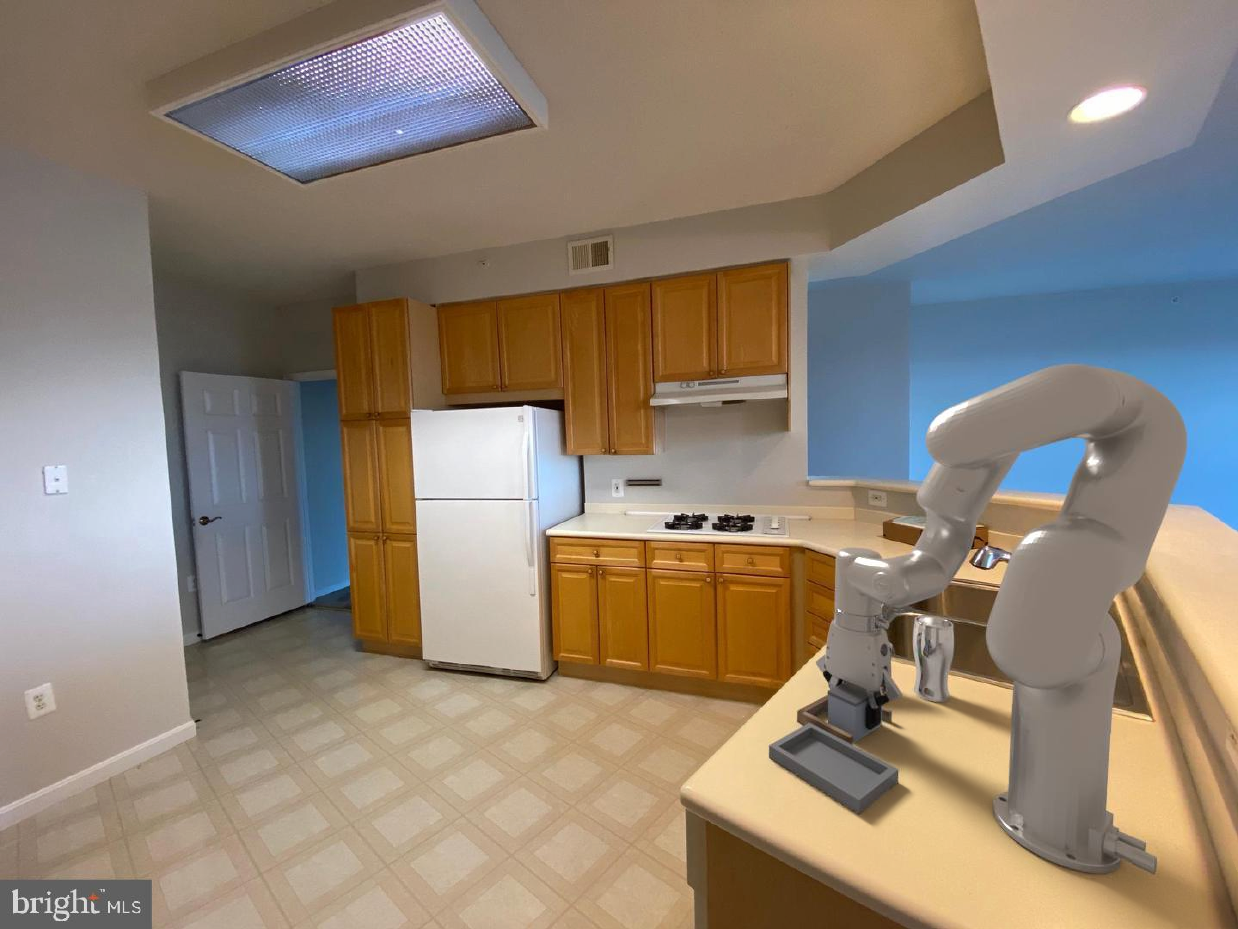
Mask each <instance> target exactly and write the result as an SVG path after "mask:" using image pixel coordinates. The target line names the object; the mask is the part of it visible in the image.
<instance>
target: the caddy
mask: <svg viewBox="0 0 1238 929" xmlns="http://www.w3.org/2000/svg"><path fill="white" fill-rule="evenodd" d="M880 687H881V686H880ZM881 690H882V693H883V691H884V688H883V687H881ZM883 694H884V693H883ZM826 695H828V710H827V723H829V724H831V725H833V726H835V727H837V728H839V729H841V730H843V731H845V732H847V733H849V734H851V735H853V744H855V743H858V741H860V740H862V739H863V738H864V737H866V736H867V735H869V734H871V733H872V732H873V731H875V730H876V729H878V728H879V727H881V726H882V724H883V720H882V707H883V705H881V722H880V724H879V725H877V726H876V727H874V728H873V729H871V730H869V729H867V727H866V707H867V706H868V705H870V703H869V700H868V697H867V693H866V690H865V689H864V688H861V687H859V686H856V685H854V684H852V683H849V682H847V681H846V682H844V683H842V684H840V685H838V686H836V687H834V688H832V689H830V688H829V689H828V690H827V694H826Z"/></svg>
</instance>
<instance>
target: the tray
mask: <svg viewBox="0 0 1238 929" xmlns="http://www.w3.org/2000/svg"><path fill="white" fill-rule="evenodd" d="M768 759H771V760H772V761H774V762H775V763H777V764H779V766H782V767H783V768H785V769H787V770H788V771H790V772H791V773H793V774H795V775H796V776H798V777H799V778H801V779H802V780H804V781H806V782H807V783H808V784H810V785H811V786H813V787H815V788H817V789H818V790H820V791H821V792H823V793H824V794H826V795H828V796H830V798H832V799H834V800H835V801H837V802H838V803H840V804H842V805H843V806H845V807H846V808H848V809H850V810H851V811H853V812H854V813H856V814H857V815H860V814H861V813H862V812H864V811H865V810H866V809H868V808H869V807H870V806H871V805H872V804H874V803H875V802H876V801H877V800H878V799H879V798H881V797H882V796H883V795H884V794H885V793H886V792H888V791H889V790H891V788H893V787H894V786H895V785H897V783H899V768H897V767H895V766H893V765H891V764H889V763H887V762H886V761H883V760H882V759H881V758H878V757H876V756H874V755H872V754H870V753H869V752H866V751H864V750H862V749H861V748H859V747H857V746H855V745H854V744H853V745H851V744H849V743H848V742H846V741H844V740H842V739H840V738H838V737H836V736H834V735H832V734H830V733H828V732H827V731H825V730H823V729H821V728H819V727H817V726H815V725H813V724H811V723H808V724H806V725H802V726H800V727H799V728H797V729H795V730H794V731H792V732H790V733H788V734H787V735H784V736H783V737H781V738H779V739H778V740H776V741H774V742H773V743H771V744H769V745H768Z"/></svg>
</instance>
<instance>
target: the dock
mask: <svg viewBox="0 0 1238 929" xmlns="http://www.w3.org/2000/svg"><path fill="white" fill-rule="evenodd" d="M823 711H824V712H826V711H828V694H826V695H825V696H822V697H821V698H819V699H817V700H815V701H813V702H811V703H809V704H807V705H806V706H804V707H802V708H800V709H798V710H796V722H797V723H799V724H801V725H802V726H804V725H806V724H808V723H811V724H813V725H815V726H817V727H819V728H821V729H823V730H825V731H827V732H828V733H830V734H832V735H834V736H836V737H838V738H840V739H842V740H844V741H846V742H848V743H849V744H851V745H853V746H854V742H853V735H851V734H849V733H847V732H845V731H843V730H841V729H839V728H837V727H835V726H833V725H831V724H829V723H828V721H825V720H823V719H821V718H819V717H817V716H819V715H821V714H822V713H824V712H823ZM821 712H822V713H821ZM820 713H821V714H820ZM818 714H819V715H818ZM892 715H893V711H892V710H891V709H889V708H886V707H885V706H882V722H885V723H888V724H890V723H892V719H893V718H892V717H893V716H892Z"/></svg>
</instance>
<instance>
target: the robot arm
mask: <svg viewBox="0 0 1238 929" xmlns="http://www.w3.org/2000/svg"><path fill="white" fill-rule="evenodd" d="M925 433H926V435H925V446H926V449H927V452H928V454H929V456H930V457H931V458H932V459H933V460H934V462H933V464H932V466H931V468H930V470H929V471H928V473H927V475H926V477H925V478H924V480H923V482H922V484H921V485H920V486H919V489H918V491H917V492H916V502H917V504H918V505H919V506H920V507H921V508H922V509H923V510H924V512H925V514H926V515H925V516H926V519H925V521H926V522H925V525H924V529H923V530H922V532H921V534H920V537H919V539H918V540H917V542H916V543H915V544H914V547H913V548H912V550H911V551H910V552H909V554H908V553H907V554H903V555H899V556H895V557H890V558H888V557H887V558H883V556H882V555H881V554H880V552H877V551H876V550H873V549H869V548H864V547H843V548H841V549H840V550H838V551H837V552H836V555H835V565H834V566H835V573H834V574H835V575H834V612H833V615H834V616H833V618H834V619H832V620H831V622H830V626H829V629H828V633H827V638H826V645H825V654H824V655H822V656H821V657H820V658H819V659H817V660H816V661H815V665H816V666H817V668H818V669H819V670H820V671H821V673H822V676H823V677H824V679H825V681H826V682H827V686H828V689H829V690H830V689H832V688H834V687H836V686H838V685H840V684H842V683H843V682H844V680H845V681H847V682H849V683H852V684H854V685H856V686H859V687H861V688H864V689H865V690H866V693H867V697H868V700H869V703H870V705H868V706H867V707H866V727H867V729H869V730H871V729H873V728H874V727H876V726H877V725H879V724H880V722H881V705H882V706H884V705H885V704H887V703H889V702H891V701H894V700H896V699H899V698H900V697H901V696H902V695H903V693H902V691H901V690H900V688H899V686H898V685H897V684H896V681H894V679H893V677H892V657H890V648H889V642H890V641H889V638H888V637H889V636H888V633H887V631H886V630H888V629H889V628H890V622H889V621H888V620H885V619H884V616H883V615H884V614H883V606H887V607H890V608H903V607H907V606H910V605H912V604H916V603H919V602H921V601H925V600H927V599H931V598H933V597H936V596H938V595H940V594H941V593H942V592H943V591H945V590H946V589H947V588H948V587H949V585H950V584H951V583H952V581H953V579H955V577H956V575H957V573H958V572H959V570H960V569H961V568H962V566H963V564H964V563H965V562H966V559H967V558H968V556H969V553H970V551H971V550H972V546H973V544H974V539H975V536H976V530H977V524H978V522H979V520H980V517H981V516H982V514H983V512H984V511H985V509H986V508H987V506H988V505H989V503H990V502H991V499H992V498H993V496H994V495H995V494H996V492H997V491H998V489H999V487H1000V485H1001V484H1002V482H1003V481H1004V480H1005V478H1006V477H1007V476H1008V474H1009V472H1010V471H1011V469H1012V467H1013V465H1014V464H1015V463H1016V461H1017V460H1018V458H1019V456H1020V454H1021V453H1024V452H1028V451H1031V450H1034V449H1038V448H1040V447H1044V446H1047V445H1050V444H1056V443H1057V442H1062V441H1066V440H1069V439H1083V440H1084V443H1085V451H1084V455H1083V456H1082V458H1081V461H1080V462H1079V464H1078V465H1077V467H1076V469H1075V471H1074V473H1073V475H1072V478H1071V481H1070V484H1069V486H1068V490H1067V494H1066V496H1065V499H1064V502H1063V503H1062V506H1061V508H1060V510H1059V512H1058V514H1057V516H1056V517H1055V520H1053V521H1049V522H1046V523H1043V524H1040V525H1038V526H1037V527H1034V528H1032V530H1029V531H1028V532H1027V533H1026V534H1025V535H1023V536H1022V538H1020V540H1019V542H1018V543H1017V544H1016V546H1015V547H1014V549H1013V551H1012V552H1011V555H1010V557H1009V559H1008V562H1007V565H1006V569H1005V572H1004V574H1003V577H1002V580H1001V582H1000V586H999V589H998V591H997V594H996V597H995V600H994V602H993V605H992V609H991V611H990V614H989V618H988V621H987V624H986V631H985V640H986V641H985V642H986V646H987V650H988V653H989V655H990V657H991V659H992V661H993V662H994V664H995V665H996V666H997V668H998V669H999V670H1000V671H1001V672H1002V673H1003V674H1004V675H1005V676H1006V677H1008V678H1009V679H1011V680H1012V681H1013V686H1012V701H1011V718H1010V739H1009V740H1010V742H1009V763H1008V764H1009V765H1008V767H1009V769H1008V789H1007V791H1003V792H1000V793H999V794H997V795H996V796H995V798H994V799H993V807H992V808H993V811H992V813H993V815H994V818H995V820H996V822H997V823H998V824H999V826H1000V827H1001V828H1002V829H1003V830H1004V831H1005V833H1006V834H1008V836H1010V837H1011V838H1012V839H1013V840H1014V841H1016V842H1017V843H1018V844H1020V845H1021V846H1023V847H1024V848H1026V849H1027V850H1029V851H1030V852H1032V853H1034V854H1035V855H1037V856H1039V857H1041V858H1043V859H1045V860H1047V861H1050V862H1052V863H1054V864H1057V865H1060V866H1062V867H1065V868H1069V869H1072V870H1075V871H1080V872H1085V873H1094V874H1105V873H1110V872H1113V871H1116V870H1118V868H1119V867H1121V864H1122V862H1123V861H1122V860H1124V861H1126V862H1128V863H1130V864H1131V865H1133V866H1135V867H1137V868H1139V869H1141V870H1142V871H1145V872H1147V873H1149V874H1151V875H1156V871H1157V866H1158V858H1157V856H1155V855H1153V854H1151V853H1149V852H1146V850H1147V849H1146V848H1147V843H1146V842H1145V841H1144V840H1141V839H1139V838H1137V837H1135V836H1133V835H1129V834H1127V833H1124V832H1123V831H1120V828H1119V827H1117V826H1115V825H1114V817H1115V816H1114V812H1113V813H1112V812H1110V811H1108V810H1107V805H1108V803H1107V801H1108V800H1107V799H1108V782H1109V764H1110V763H1109V762H1110V750H1111V749H1110V746H1111V733H1112V719H1113V706H1114V697H1115V688H1116V682H1117V677H1118V674H1119V673H1118V672H1119V668H1120V667H1119V666H1120V661H1121V653H1122V640H1121V634H1120V630H1119V627H1118V625H1117V623H1116V622H1115V619H1113V617H1112V615H1110V613H1109V611H1110V608H1111V606H1112V604H1113V602H1114V600H1115V598H1116V596H1117V595H1120V594H1121V593H1123V592H1125V591H1127V590H1128V589H1130V588H1131V587H1133V586H1134V585H1136V584H1137V582H1138V581H1139V580H1140V579H1141V577H1142V576H1143V574H1144V572H1145V570H1146V566H1147V563H1148V560H1149V556H1150V553H1151V551H1152V548H1153V545H1154V543H1155V540H1156V538H1157V536H1158V534H1159V531H1160V529H1161V525H1162V524H1163V520H1164V518H1165V516H1166V513H1167V511H1168V510H1167V509H1168V507H1169V504H1170V501H1171V499H1172V496H1173V493H1174V491H1175V489H1176V486H1177V483H1178V481H1179V478H1180V475H1181V472H1182V470H1183V467H1184V463H1185V461H1186V455H1187V449H1188V448H1187V447H1188V435H1187V428H1186V425H1185V422H1184V420H1183V416H1182V415H1181V412H1180V411H1179V410H1178V408H1177V406H1176V405H1175V404H1174V403H1173V402H1172V401H1171V399H1170V398H1168V397H1167V396H1166V395H1165V394H1164V393H1163V392H1162V391H1160V390H1159V389H1157V388H1155V387H1154V386H1153V385H1151V384H1149V383H1147V382H1146V381H1144V380H1141V379H1140V378H1138V377H1136V376H1134V375H1131V374H1129V373H1125V372H1123V371H1121V370H1118V369H1117V370H1116V369H1111V368H1107V367H1102V366H1093V365H1089V364H1080V363H1063V364H1058V365H1051V366H1049V367H1046V368H1042V369H1040V370H1037V371H1035V372H1031V373H1029V374H1027V375H1024V376H1022V377H1019V378H1017V379H1014V380H1012V381H1010V382H1007V383H1004V384H1003V385H1001V386H998V387H996V388H995V387H994V389H991V390H988V391H985V392H984V393H981V394H978V395H976V396H974V397H971V398H968V399H966V400H964V401H961V402H959V403H956V404H955V405H953V406H949V407H948V408H946V409H945V410H943V411H942V412H940V413H939V414H937V416H936V417H935V418H933V420H932V422H931V423H930V424H929V426H928V428H927V431H926V432H925ZM880 685H884V686H885V687H886V688H887V693H882V690H881V687H880Z"/></svg>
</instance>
